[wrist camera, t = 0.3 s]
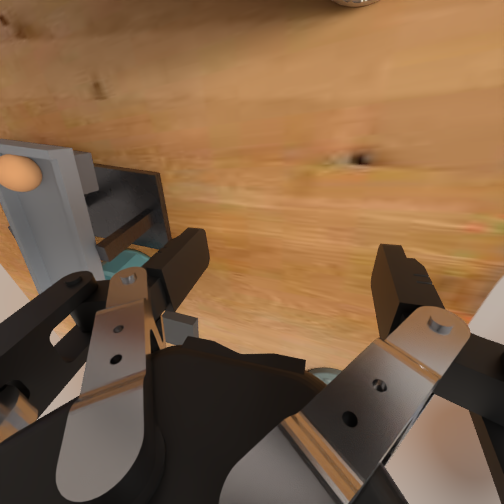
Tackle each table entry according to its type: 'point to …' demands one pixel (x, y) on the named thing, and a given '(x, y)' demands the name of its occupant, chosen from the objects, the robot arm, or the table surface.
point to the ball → (19, 173)
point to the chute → (64, 223)
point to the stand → (127, 210)
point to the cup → (124, 262)
